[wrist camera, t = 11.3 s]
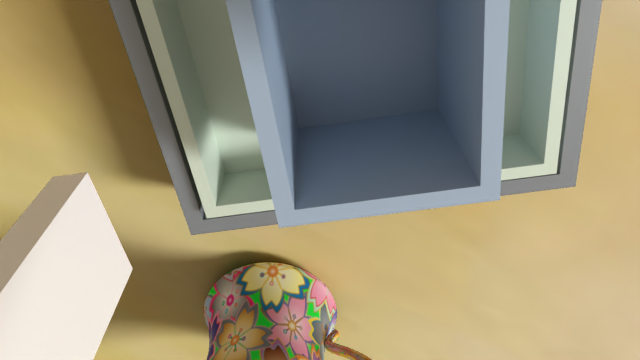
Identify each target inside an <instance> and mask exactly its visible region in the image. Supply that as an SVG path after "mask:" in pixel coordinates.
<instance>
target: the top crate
mask: <svg viewBox="0 0 640 360" xmlns="http://www.w3.org/2000/svg"><path fill="white" fill-rule="evenodd" d="M136 3H137V6H138V9H139V12H140V15H141V18H142V21H143V24H144V27H145V30H146V33H147V37H148V40H149V43H150V46H151V49H152V52H153V55H154V58H155V61H156V64H157V67H158V70H159V73H160V76H161V79H162V83H163V86H164V89H165V92H166V95H167V98H168V101H169V104H170V107H171V110H172V113H173V116H174V119H175V122H176V126H177V129H178V132H179V135H180V138H181V141H182V144H183V147H184V150H185V153H186V156H187V159H188V162H189V165H190V168H191V172H192V175H193V178H194V181H195V184H196V187H197V190H198V193H199V196H200V199H201V202H202V205H203V208H204V211H205V215H206V218H214V217H222V216H230V215H237V214H245V213H253V212H261V211H268V210H275V209H274V204H273V200H272V196H271V192H270V188H269V183H268V179H267V175H266V171H265V166H264V162H263V158H262V154H261V149H260V145H259V141H258V137H257V133H256V128H255V124H254V120H253V116H252V111H251V107H250V103H249V99H248V94H247V90H246V86H245V82H244V78H243V73H242V69H241V65H240V61H239V56H238V52H237V48H236V44H235V39H234V35H233V31H232V27H231V22H230V18H229V14H228V10H227V6H226V1H225V0H136ZM576 4H577V0H510V10H509V30H508V49H507V69H506V89H505V109H504V129H503V149H502V169H501V181H502V180H509V179H517V178H525V177H533V176H541V175H548V174H556V173H557V165H558V156H559V148H560V139H561V131H562V122H563V114H564V106H565V97H566V89H567V80H568V72H569V63H570V55H571V47H572V38H573V30H574V21H575V13H576Z"/></svg>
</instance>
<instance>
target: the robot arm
mask: <svg viewBox="0 0 640 360" xmlns="http://www.w3.org/2000/svg"><path fill="white" fill-rule="evenodd" d="M132 270H133V268H132V266H131V264H130V262H129V260H128V258H127V255H126V253H125V251H124V249H123V247H122V245H121V243H120V241H119V238H118V236H117V234H116V232H115V230H114V228H113V226H112V224H111V221H110V219H109V217H108V215H107V213H106V211H105V209H104V206H103V204H102V202H101V200H100V198H99V196H98V194H97V192H96V189H95V187H94V185H93V183H92V181H91V179H90V177H89V175H88V172H86V173H79V174H71V175H64V176H57V177H52V179H51V180H50V181H49V182H48V183H47V185H46V186H45V187H44V188H43V189H42V191H41V192H40V193H39V194H38V196H37V197H36V198H35V199H34V200H33V202H32V203H31V204H30V205H29V206H28V208H27V209H26V210H25V211H24V213H23V214H22V215H21V216H20V217H19V219H18V220H17V221H16V222H15V224H14V225H13V226H12V227H11V228H10V230H9V231H8V232H7V233H6V234H5V236H4V237H3V238H2V239H1V241H0V360H93V359H94V356H95V354H96V352H97V350H98V347H99V345H100V343H101V340H102V338H103V336H104V334H105V331H106V329H107V327H108V324H109V322H110V320H111V318H112V315H113V313H114V311H115V308H116V306H117V304H118V302H119V299H120V297H121V295H122V292H123V290H124V288H125V286H126V283H127V281H128V279H129V276H130V274H131V272H132Z"/></svg>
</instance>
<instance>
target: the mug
mask: <svg viewBox="0 0 640 360" xmlns="http://www.w3.org/2000/svg"><path fill="white" fill-rule="evenodd" d="M204 318H205V322H206V325H207V327H208V330H209V352H208V356H207V360H324V353H325V347H326V349H327V350H328V351H329V352H331V353H334V354H337V355H339V356H342V357H345V358H348V359H350V360H371V359H370V358H368V357H367V356H365V355H363V354H362V353H360V352H358V351H355V350H353V349H351V348H348V347H345V346H342V345H339V344H336V343H335V342H336V341H337V340H338V339H339V332H338V331H337V330H333V329H334V326H335V323H336V318H337V308H336V304H335V301H334V298H333V296H332V294H331V292H330V291H329V289H328V288H327V287H326V286H325V284H324V283H322V282H321V281H320V280H319V279H318V278H317V277H315V276H314V275H312V274H310V273H309V272H307V271H305V270H303V269H300V268H298V267H295V266H292V265H288V264H282V263H273V262H264V263H254V264H249V265H245V266H242V267H239V268H237V269H234V270H232V271H230V272H228V273H227V274H225V275H224V276H222V277H221V278H220V279H219V280H218V281H217V282H216V283H215V284H214V285H213V286H212V288H211V289H210V291H209V292H208V294H207V297H206V299H205V303H204Z"/></svg>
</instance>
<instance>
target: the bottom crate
mask: <svg viewBox="0 0 640 360" xmlns="http://www.w3.org/2000/svg"><path fill="white" fill-rule="evenodd" d="M108 1H109V3H110V6H111V9H112V12H113V15H114V18H115V20H116V23H117V26H118V29H119V32H120V35H121V37H122V40H123V43H124V46H125V49H126V52H127V54H128V57H129V60H130V63H131V66H132V69H133V71H134V74H135V77H136V80H137V83H138V85H139V88H140V91H141V94H142V97H143V100H144V102H145V105H146V108H147V111H148V114H149V117H150V119H151V122H152V125H153V128H154V131H155V134H156V136H157V139H158V142H159V145H160V148H161V151H162V153H163V156H164V159H165V162H166V165H167V168H168V170H169V173H170V176H171V179H172V182H173V185H174V187H175V190H176V193H177V196H178V199H179V202H180V204H181V207H182V210H183V213H184V216H185V219H186V221H187V224H188V227H189V230H190V233H191V235H196V234H204V233H212V232H220V231H227V230H235V229H243V228H251V227H259V226H267V225H275V224H278V221H277V217H276V213H275V210H268V211H261V212H253V213H245V214H237V215H230V216H222V217H214V218H206V215H205V211H204V208H203V205H202V202H201V199H200V196H199V193H198V190H197V187H196V184H195V181H194V178H193V175H192V172H191V168H190V165H189V162H188V159H187V156H186V153H185V150H184V147H183V144H182V141H181V138H180V135H179V132H178V129H177V126H176V122H175V119H174V116H173V113H172V110H171V107H170V104H169V101H168V98H167V95H166V92H165V89H164V86H163V83H162V79H161V76H160V73H159V70H158V67H157V64H156V61H155V58H154V55H153V52H152V49H151V46H150V43H149V40H148V37H147V33H146V30H145V27H144V24H143V21H142V18H141V15H140V12H139V9H138V6H137V3H136V0H108ZM601 5H602V0H577V4H576V13H575V21H574V30H573V38H572V47H571V55H570V63H569V72H568V80H567V89H566V97H565V106H564V114H563V122H562V131H561V139H560V148H559V156H558V165H557V173H556V174H548V175H541V176H533V177H525V178H517V179H509V180H502V181H501V188H500V196H504V195H512V194H520V193H527V192H535V191H543V190H551V189H559V188H567V187H575V186H576V179H577V172H578V165H579V158H580V151H581V144H582V137H583V130H584V123H585V116H586V109H587V102H588V95H589V88H590V82H591V75H592V68H593V61H594V54H595V47H596V40H597V33H598V26H599V19H600V12H601Z"/></svg>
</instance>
